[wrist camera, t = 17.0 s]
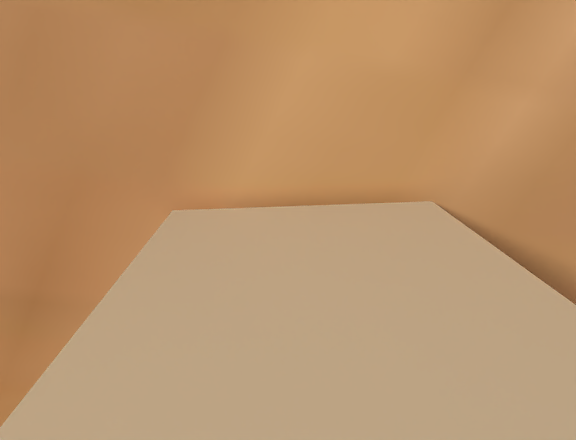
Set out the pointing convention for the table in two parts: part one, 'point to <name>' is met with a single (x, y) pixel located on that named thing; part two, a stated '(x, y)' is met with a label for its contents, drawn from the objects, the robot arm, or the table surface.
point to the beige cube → (314, 335)
